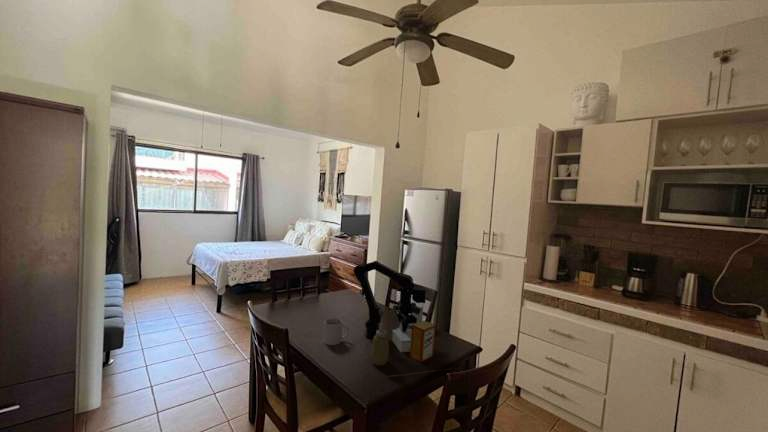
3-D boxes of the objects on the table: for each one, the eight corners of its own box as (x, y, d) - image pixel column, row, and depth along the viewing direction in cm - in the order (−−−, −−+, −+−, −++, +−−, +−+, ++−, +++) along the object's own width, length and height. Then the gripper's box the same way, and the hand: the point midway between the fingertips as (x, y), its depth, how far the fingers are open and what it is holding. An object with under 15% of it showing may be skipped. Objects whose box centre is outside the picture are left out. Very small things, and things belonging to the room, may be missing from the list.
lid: (401, 342, 147) (402, 332, 147) (391, 329, 161) (391, 320, 161) (420, 340, 151) (421, 331, 150) (409, 328, 164) (410, 319, 164)
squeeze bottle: (369, 358, 141) (372, 319, 140) (387, 358, 141) (390, 320, 141) (370, 368, 133) (373, 327, 132) (389, 368, 133) (392, 327, 132)
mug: (319, 342, 152) (321, 322, 152) (330, 335, 161) (331, 316, 161) (339, 348, 148) (340, 327, 148) (348, 340, 157) (349, 321, 157)
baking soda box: (422, 351, 151) (424, 319, 150) (433, 357, 146) (435, 324, 145) (409, 357, 144) (412, 324, 143) (420, 363, 139) (423, 329, 139)
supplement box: (421, 329, 178) (422, 307, 177) (408, 327, 179) (410, 305, 179) (422, 324, 185) (423, 303, 184) (409, 322, 186) (411, 301, 186)
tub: (400, 353, 147) (401, 343, 147) (392, 341, 159) (393, 332, 159) (419, 351, 151) (420, 341, 150) (410, 340, 162) (410, 331, 162)
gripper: (427, 306, 152) (425, 336, 153) (412, 294, 170) (410, 322, 170) (406, 306, 148) (404, 338, 149) (393, 294, 166) (391, 323, 167)
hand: (403, 330), depth 159 cm, fingers closed on lid, 3 cm apart
